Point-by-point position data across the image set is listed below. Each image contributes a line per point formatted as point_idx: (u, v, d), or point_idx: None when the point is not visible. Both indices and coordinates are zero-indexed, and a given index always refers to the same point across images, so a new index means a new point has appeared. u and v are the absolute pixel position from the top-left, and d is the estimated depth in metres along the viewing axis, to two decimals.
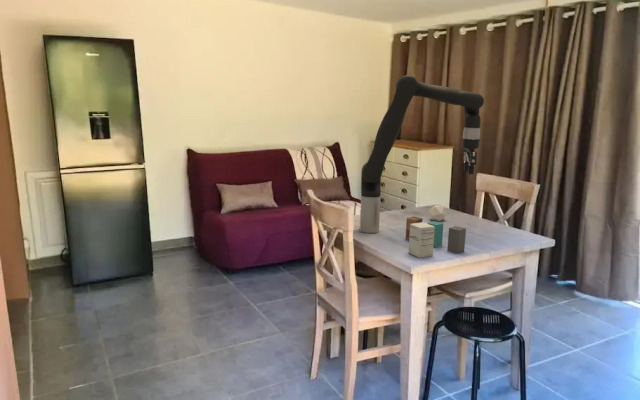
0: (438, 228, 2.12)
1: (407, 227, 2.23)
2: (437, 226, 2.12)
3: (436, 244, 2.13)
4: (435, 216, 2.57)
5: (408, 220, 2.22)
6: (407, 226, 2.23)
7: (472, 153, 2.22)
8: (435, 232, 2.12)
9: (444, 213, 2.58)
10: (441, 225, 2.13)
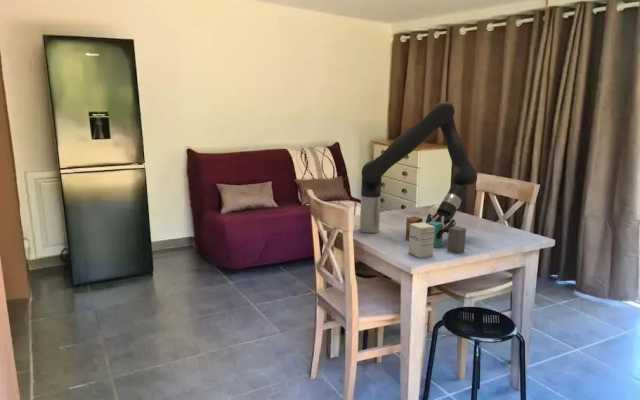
0: (438, 228, 2.12)
1: (407, 227, 2.23)
2: (437, 226, 2.12)
3: (436, 244, 2.13)
4: None
5: (408, 220, 2.22)
6: (407, 226, 2.23)
7: (454, 221, 2.12)
8: (435, 232, 2.12)
9: None
10: (441, 225, 2.13)
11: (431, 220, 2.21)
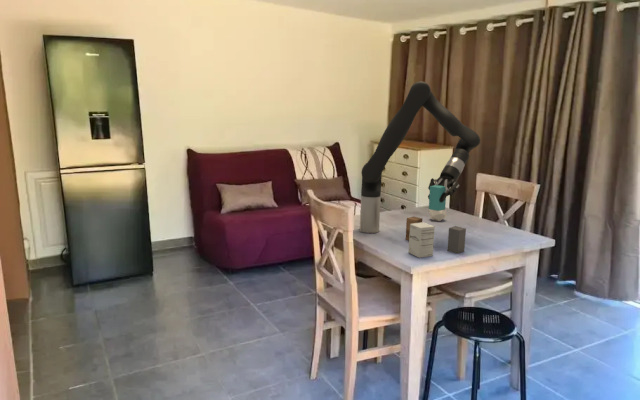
0: (441, 191, 2.09)
1: (407, 227, 2.23)
2: (440, 189, 2.09)
3: (439, 208, 2.10)
4: (435, 216, 2.57)
5: (408, 220, 2.22)
6: (407, 226, 2.23)
7: (457, 184, 2.09)
8: (438, 195, 2.09)
9: (444, 213, 2.58)
10: (444, 188, 2.10)
11: (434, 184, 2.18)
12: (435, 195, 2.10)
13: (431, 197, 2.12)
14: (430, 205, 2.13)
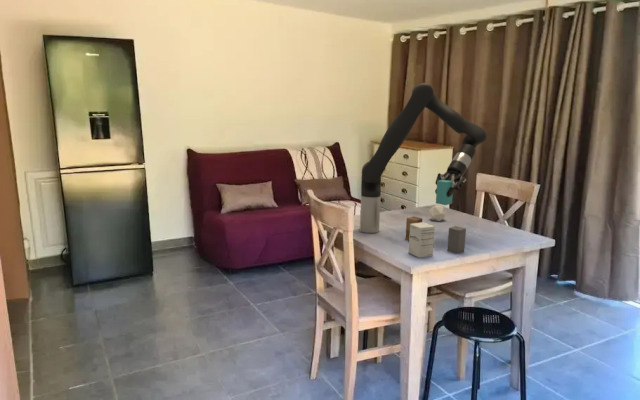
0: (448, 185, 2.12)
1: (407, 227, 2.23)
2: (447, 183, 2.12)
3: (446, 202, 2.13)
4: (435, 216, 2.57)
5: (408, 220, 2.22)
6: (407, 226, 2.23)
7: (464, 179, 2.12)
8: (445, 189, 2.12)
9: (444, 213, 2.58)
10: (451, 183, 2.14)
11: (441, 179, 2.21)
12: (442, 189, 2.13)
13: (438, 191, 2.15)
14: (437, 199, 2.16)
